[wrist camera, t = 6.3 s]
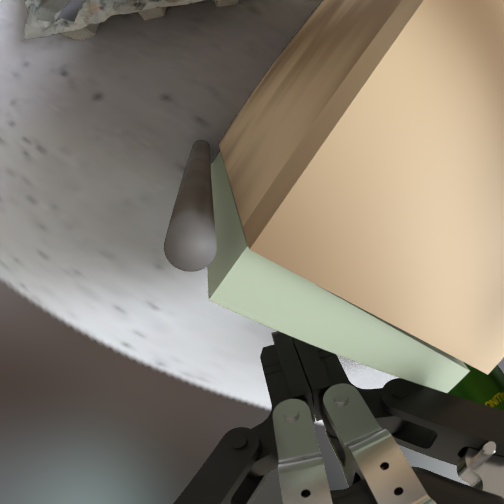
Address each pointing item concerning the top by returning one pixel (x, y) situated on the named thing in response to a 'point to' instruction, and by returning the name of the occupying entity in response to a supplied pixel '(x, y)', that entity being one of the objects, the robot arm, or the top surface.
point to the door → (312, 305)
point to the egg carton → (92, 15)
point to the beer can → (482, 387)
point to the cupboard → (375, 168)
